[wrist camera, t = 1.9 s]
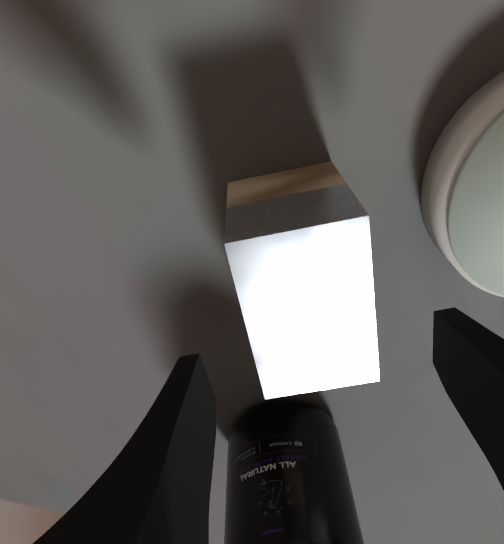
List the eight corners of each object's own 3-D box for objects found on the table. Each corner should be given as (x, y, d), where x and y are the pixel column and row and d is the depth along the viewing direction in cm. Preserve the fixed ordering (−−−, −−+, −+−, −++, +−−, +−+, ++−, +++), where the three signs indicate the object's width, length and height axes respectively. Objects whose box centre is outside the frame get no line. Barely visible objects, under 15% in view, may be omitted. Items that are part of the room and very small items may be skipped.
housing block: (330, 160, 18) (369, 215, 13) (345, 295, 22) (379, 380, 16) (227, 181, 18) (224, 244, 13) (258, 310, 22) (265, 399, 17)
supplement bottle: (264, 378, 24) (285, 645, 14) (358, 419, 26) (438, 679, 16) (207, 447, 27) (188, 710, 17) (295, 479, 29) (328, 733, 19)
